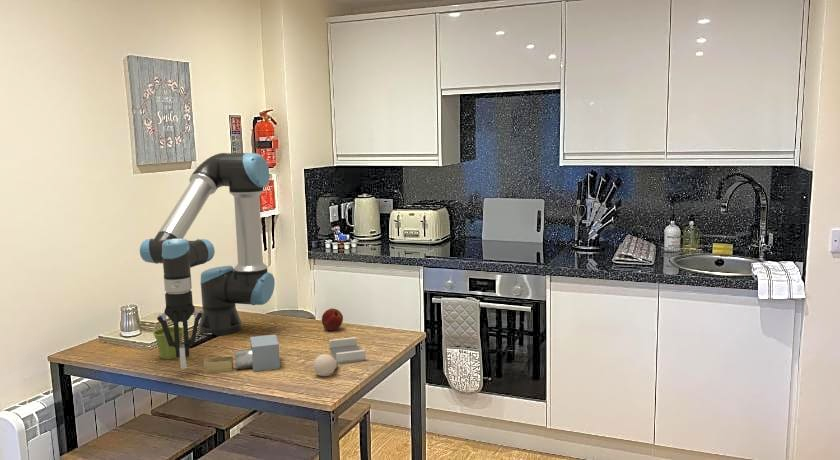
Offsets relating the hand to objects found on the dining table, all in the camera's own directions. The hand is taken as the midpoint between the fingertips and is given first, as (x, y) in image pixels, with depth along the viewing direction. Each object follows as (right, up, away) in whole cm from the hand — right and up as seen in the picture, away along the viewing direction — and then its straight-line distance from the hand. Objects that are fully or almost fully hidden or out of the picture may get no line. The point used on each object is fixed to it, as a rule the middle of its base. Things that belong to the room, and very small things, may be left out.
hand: (183, 367), depth 197 cm
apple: (+39, +5, +42) cm, 58 cm away
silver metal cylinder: (+20, -1, +7) cm, 21 cm away
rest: (+48, +1, +15) cm, 50 cm away
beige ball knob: (+44, -2, 0) cm, 44 cm away
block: (+23, -1, +8) cm, 24 cm away
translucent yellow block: (+10, -2, +4) cm, 10 cm away
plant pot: (-10, 0, +16) cm, 19 cm away
